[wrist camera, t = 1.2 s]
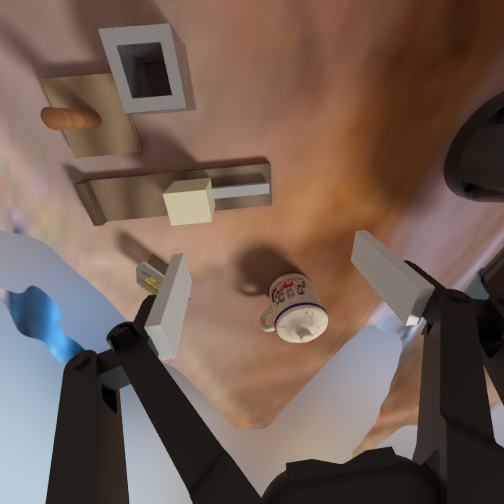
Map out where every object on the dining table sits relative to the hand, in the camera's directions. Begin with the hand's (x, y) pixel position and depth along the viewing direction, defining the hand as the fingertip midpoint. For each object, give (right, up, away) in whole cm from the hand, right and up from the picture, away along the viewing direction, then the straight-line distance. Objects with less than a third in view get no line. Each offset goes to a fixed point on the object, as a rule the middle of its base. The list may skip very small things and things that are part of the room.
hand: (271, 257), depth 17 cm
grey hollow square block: (-12, +20, +9) cm, 25 cm away
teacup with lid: (+5, -8, +28) cm, 29 cm away
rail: (-11, +9, +16) cm, 21 cm away
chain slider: (-6, +9, +15) cm, 18 cm away
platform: (-17, -3, +24) cm, 29 cm away
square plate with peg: (-20, +17, +10) cm, 28 cm away
